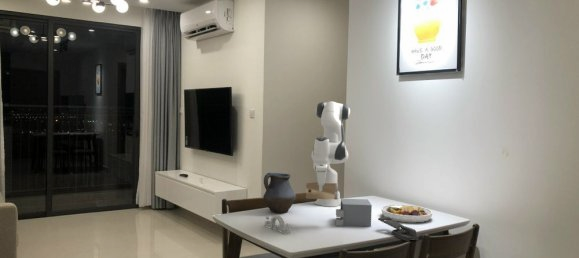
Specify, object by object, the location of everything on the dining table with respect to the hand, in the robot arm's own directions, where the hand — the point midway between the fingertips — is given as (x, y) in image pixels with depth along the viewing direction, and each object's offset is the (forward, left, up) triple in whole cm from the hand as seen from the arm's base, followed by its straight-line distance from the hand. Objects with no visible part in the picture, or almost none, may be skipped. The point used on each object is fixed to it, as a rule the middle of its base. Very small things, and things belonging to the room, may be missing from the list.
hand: (320, 190), depth 259 cm
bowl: (-23, +54, -20) cm, 62 cm away
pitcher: (-27, -25, -19) cm, 41 cm away
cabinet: (-6, +19, -19) cm, 28 cm away
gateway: (+15, -24, -20) cm, 34 cm away
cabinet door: (+1, +1, -5) cm, 5 cm away
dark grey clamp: (+16, +41, -20) cm, 48 cm away
